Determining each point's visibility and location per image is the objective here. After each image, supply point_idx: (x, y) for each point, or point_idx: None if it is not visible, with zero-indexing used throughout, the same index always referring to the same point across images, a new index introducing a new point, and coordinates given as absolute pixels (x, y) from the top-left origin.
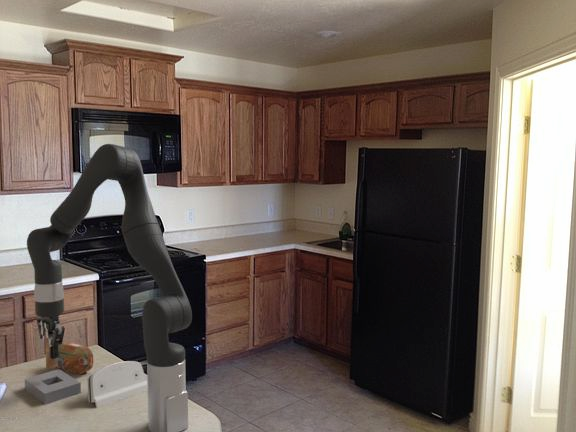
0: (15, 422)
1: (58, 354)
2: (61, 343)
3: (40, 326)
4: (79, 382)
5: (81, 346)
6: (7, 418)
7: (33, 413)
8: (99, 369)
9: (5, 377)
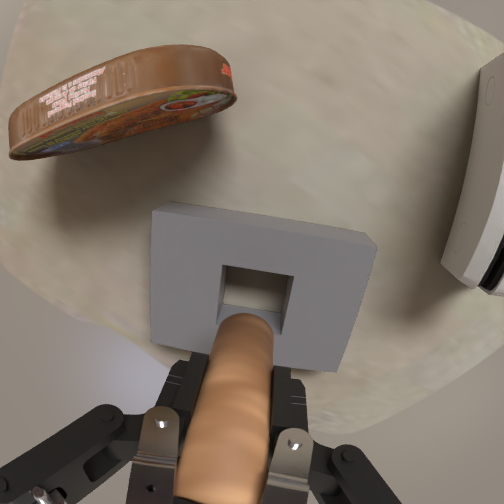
0: (346, 422)
1: (290, 375)
2: (358, 453)
3: (74, 502)
4: (372, 248)
5: (121, 76)
6: (311, 424)
7: (348, 387)
8: (500, 240)
9: (46, 298)
